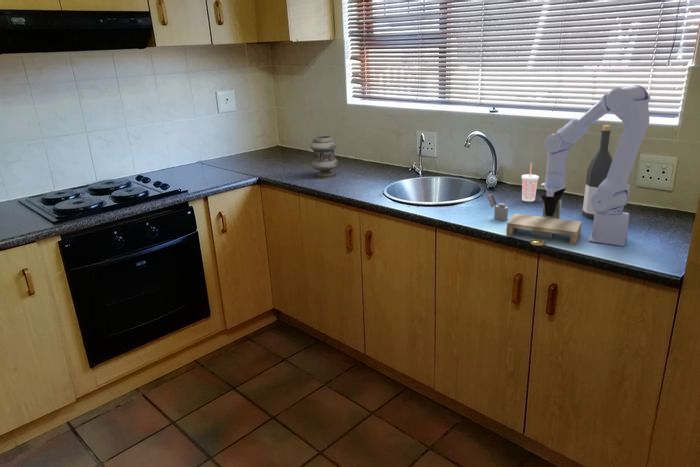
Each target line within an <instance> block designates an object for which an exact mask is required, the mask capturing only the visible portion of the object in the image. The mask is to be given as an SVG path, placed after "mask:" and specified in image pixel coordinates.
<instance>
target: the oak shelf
mask: <svg viewBox="0 0 700 467" xmlns="http://www.w3.org/2000/svg"><path fill="white" fill-rule="evenodd" d="M517 229H522V230H529V231H530V230H531V231H533V230H536V231H543V232H551V233H552V234H560V235H566V236H567V235H568V236H570V237H569V245H575V246H576V244H577V242H578V240H579V238H580V235H581V232H582V231H581V229H582V221H579V220H574V219H573V220H572V219H571V220H570V219H564V218H563V219H562V218H560V219H556V218H548V217H543V216H540V215H530V214H522V213H521V214H520V213H514V214H513V215H512V216H511V218H510V219H509V220H508V221H507V222H506V231H505V232H506V234H505V235H506V236H508V237H511V236H513V234H514V233H515V232H516V231H517Z"/></svg>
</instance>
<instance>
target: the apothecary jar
mask: <svg viewBox="0 0 700 467" xmlns="http://www.w3.org/2000/svg"><path fill="white" fill-rule="evenodd" d="M336 147H337V142H336V141H335V140H334V139H333V136H332V135H327V134H325V135H324V134H322V135H317V136H313V141H312V142H311V144H310V148H311V150H312V151H313V160H312V161H311V166H312V167H313V169H314V170H317V171H318V172H317V173H315V174H314V177H315V178H318V179H319V178H320V179H330V178H334V177H336V176H337V173H336V172H333V171H332V170H333V169H335V168H337V167H338V165H339V161H338V160H337V158H336V155H335V149H336Z"/></svg>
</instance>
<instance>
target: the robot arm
mask: <svg viewBox="0 0 700 467" xmlns="http://www.w3.org/2000/svg"><path fill="white" fill-rule="evenodd" d="M650 101H651V95H650V94H649V92H648V91H647V89H646V88H645V87H644V86H642V85H639V84H634V85H631V86H625V87H614V88H612V89H611V90H609V92H608V93H605V94H604V95H602V97H601V99H599V100H598V101H597V102H596V103H595V104H594V105H593V106H592V107H591V108H589V109H588V111H586V112H585V113H584V114H583V115H582V116H581V117H573V118H569V119H568V120H567V122H568V123H566V124H565V125H564V126H562V127H560V128H559V127H558V129H557V130H556V133H551V134H548V135H547V136H546V138H545V139H544V148H545V150H546V151H547V158H546V168H545V169H546V170H545V178H544V179H545V181H544V182H542V183H541V184H540V187H542V188H544V189H545V191H546V193H543V192H542V194H541V200H542V202H543V207H544V206H545V213H546V216H553V215H554V212H555V208H556V205H557V202H558V200H559V199H562V197H563V195H564V192H565V191H566V188H567V187H565V177H566V168H567V158H568V155H569V152H570V150H571V148H573V144H574V143H575V142H577V141H578V140H579V139H580V138H583V136H584V135H586V134H587V133H588V130H589V126H592V124H594V123H595V122H596V121H598V120H599V119H600V118H602V117H604V116H606V114H608V113H610V112H611V113H612V114H614V115H615V116H616V117H617V118H618V119H619V120H621V122H622V123H623V125H624V127H623V130H622V131H621V135H620V137H619V138H620V139H619V141H618V143H617V146H616V149H615V152H614V155H613V158H612V163H611V166H610V169H609V172H608V174H607V177H606V179H605V180H604V181H603V182H602V183H601V184H600V185H599V186H598V189H597V191H596V192H595V193H594V194H593V195H592V197H591V205H592V207H593V208H594V211H595V213H594V219H593V221H592V222H593V224H592V231H591V233H590V235H589V238H588V241H589V242H592V243H600V244H608V245H613V246H620V247H621V246H622V247H623V246H625V245H626V239H627V238H628V234H629V231H628V228H629V227H628V226H629V220H630V213H629V212H626V211H625V212H624V207H626V205H628V204H629V201H630V189H631V185H630V184H629V182H628V180H629V177H630V175H631V172H632V169H633V166H634V164H635V161H636V159H637V156H638V154H639V151H640V149H641V146H642V143H643V140H644V138H645V135H646V132H647V130H648V127H649V124H650V110H649V103H650Z"/></svg>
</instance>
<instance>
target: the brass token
mask: <svg viewBox="0 0 700 467" xmlns="http://www.w3.org/2000/svg"><path fill="white" fill-rule="evenodd" d="M530 244H531V245H532V246H538V247H542V246H544V245H545V244H546V241H545V240H544V239H542V238H532V239H530Z"/></svg>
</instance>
